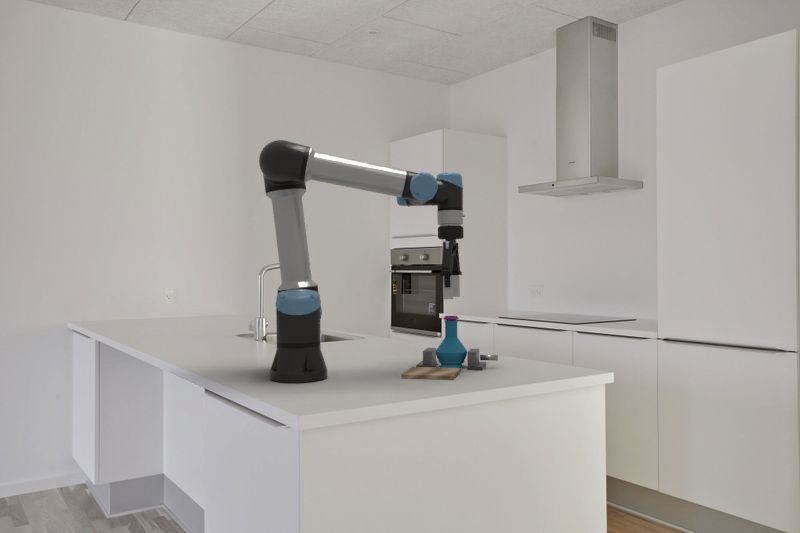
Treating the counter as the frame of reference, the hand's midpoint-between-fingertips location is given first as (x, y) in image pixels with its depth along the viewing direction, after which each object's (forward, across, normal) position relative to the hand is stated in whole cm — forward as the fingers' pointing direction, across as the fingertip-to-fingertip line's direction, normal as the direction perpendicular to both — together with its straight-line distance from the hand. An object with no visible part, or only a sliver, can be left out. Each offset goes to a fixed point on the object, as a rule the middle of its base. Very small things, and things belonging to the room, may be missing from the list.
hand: (451, 298), depth 197 cm
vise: (+20, 0, -1) cm, 20 cm away
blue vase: (+20, 0, 0) cm, 21 cm away
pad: (+20, -15, +4) cm, 26 cm away
